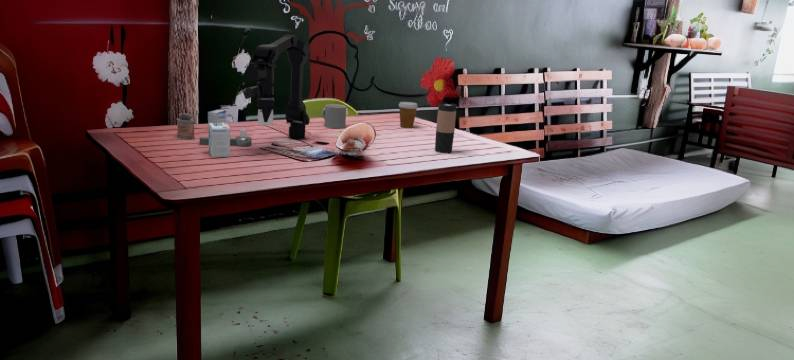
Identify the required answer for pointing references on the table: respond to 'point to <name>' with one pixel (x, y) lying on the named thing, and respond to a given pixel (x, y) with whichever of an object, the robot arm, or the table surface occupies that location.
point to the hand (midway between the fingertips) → (265, 120)
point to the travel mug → (445, 127)
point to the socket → (261, 120)
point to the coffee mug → (334, 116)
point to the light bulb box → (219, 140)
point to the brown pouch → (185, 126)
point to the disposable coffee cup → (407, 114)
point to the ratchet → (233, 140)
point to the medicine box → (216, 117)
